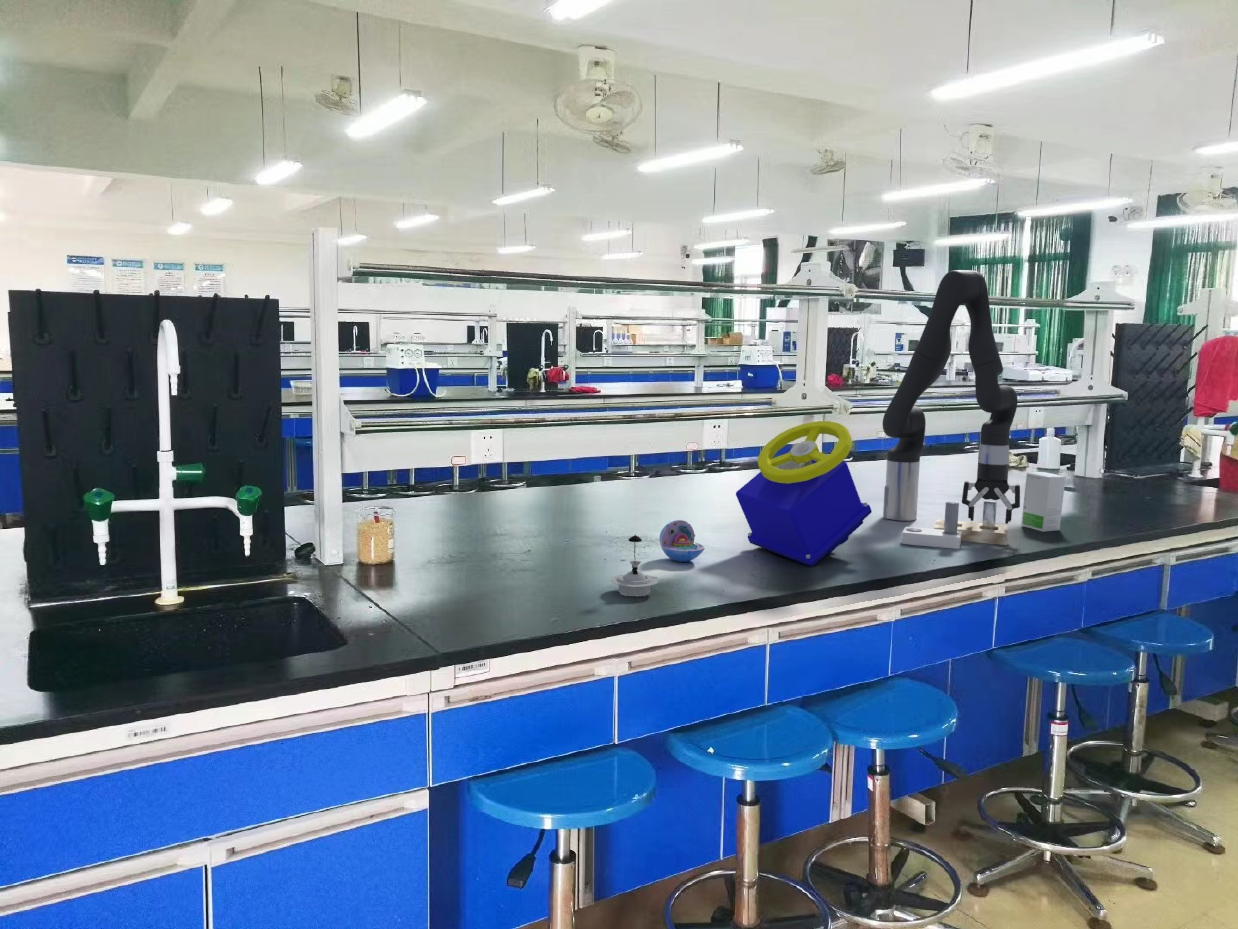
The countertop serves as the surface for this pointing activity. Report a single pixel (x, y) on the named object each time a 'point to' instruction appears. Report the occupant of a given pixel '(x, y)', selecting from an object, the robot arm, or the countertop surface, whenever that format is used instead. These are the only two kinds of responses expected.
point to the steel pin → (989, 515)
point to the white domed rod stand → (634, 578)
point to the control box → (803, 495)
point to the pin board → (978, 532)
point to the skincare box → (1043, 501)
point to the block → (937, 531)
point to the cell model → (679, 541)
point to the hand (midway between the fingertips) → (989, 521)
